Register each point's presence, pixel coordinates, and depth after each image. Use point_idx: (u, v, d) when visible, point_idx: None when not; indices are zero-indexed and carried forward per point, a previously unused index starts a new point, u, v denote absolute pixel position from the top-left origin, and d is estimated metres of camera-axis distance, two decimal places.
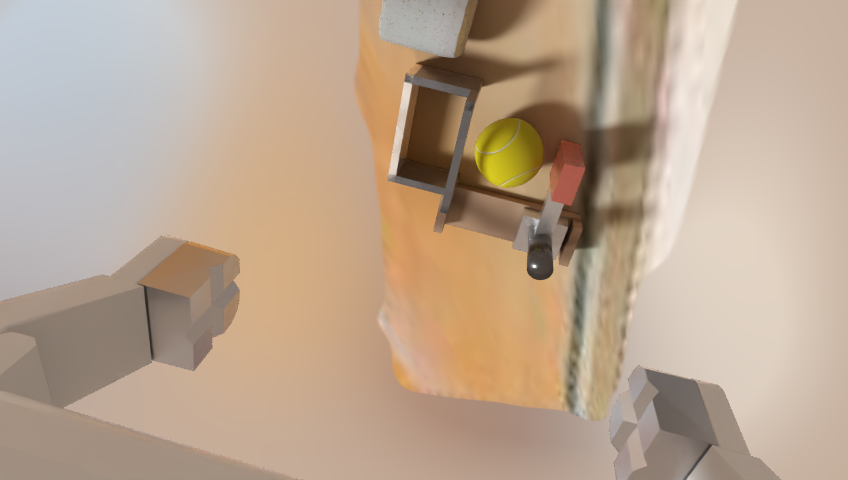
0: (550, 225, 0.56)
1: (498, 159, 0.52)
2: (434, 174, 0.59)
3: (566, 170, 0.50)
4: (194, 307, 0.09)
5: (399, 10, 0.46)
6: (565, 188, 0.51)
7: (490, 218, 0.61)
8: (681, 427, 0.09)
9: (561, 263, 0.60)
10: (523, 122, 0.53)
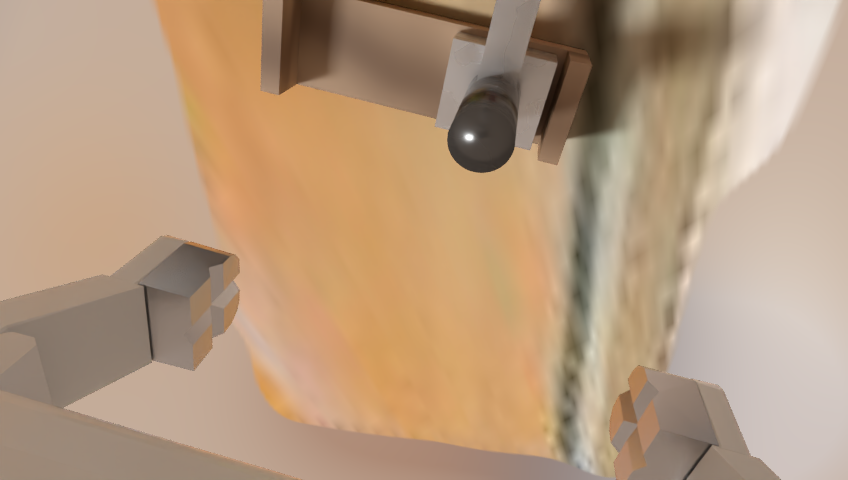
0: (514, 49, 0.23)
1: None
2: None
3: None
4: (194, 307, 0.09)
5: None
6: None
7: (388, 65, 0.28)
8: (681, 427, 0.09)
9: (543, 157, 0.27)
10: None
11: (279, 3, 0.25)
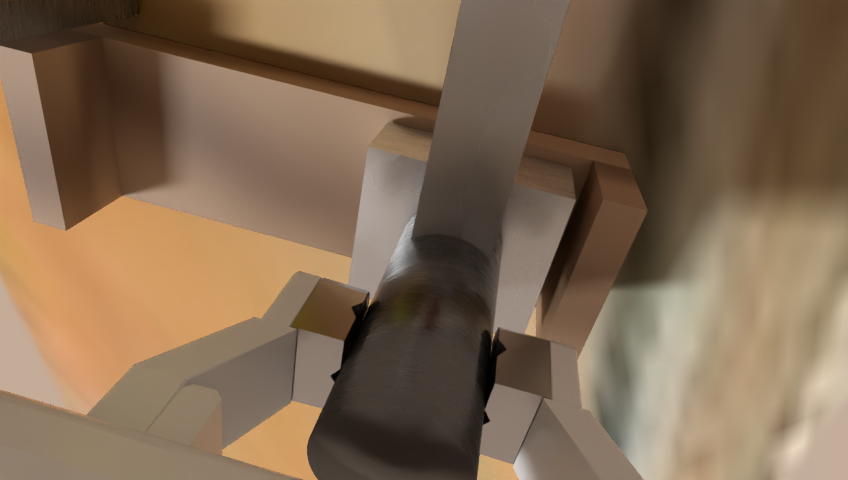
0: (485, 186, 0.11)
1: None
2: None
3: None
4: (344, 349, 0.09)
5: None
6: None
7: (270, 172, 0.16)
8: (518, 381, 0.09)
9: None
10: None
11: (29, 75, 0.13)
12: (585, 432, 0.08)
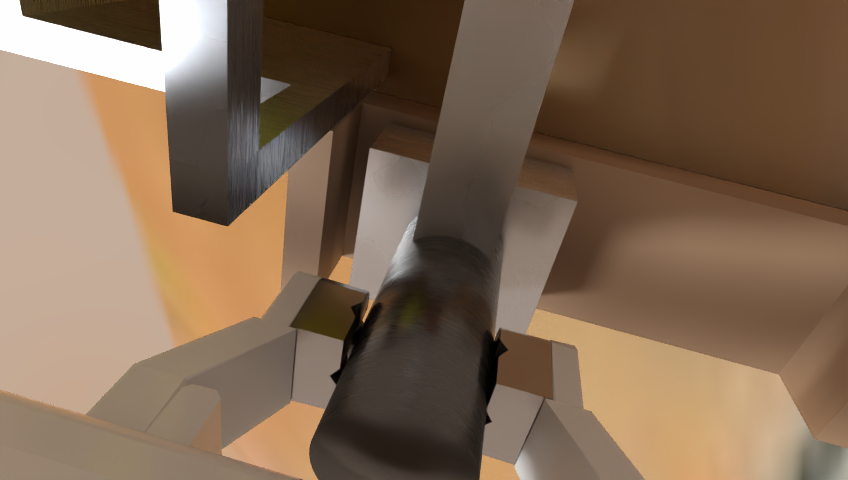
0: (487, 188, 0.11)
1: None
2: (265, 37, 0.13)
3: None
4: (344, 349, 0.09)
5: None
6: None
7: None
8: (519, 382, 0.09)
9: (827, 436, 0.14)
10: None
11: (324, 151, 0.12)
12: (587, 432, 0.08)
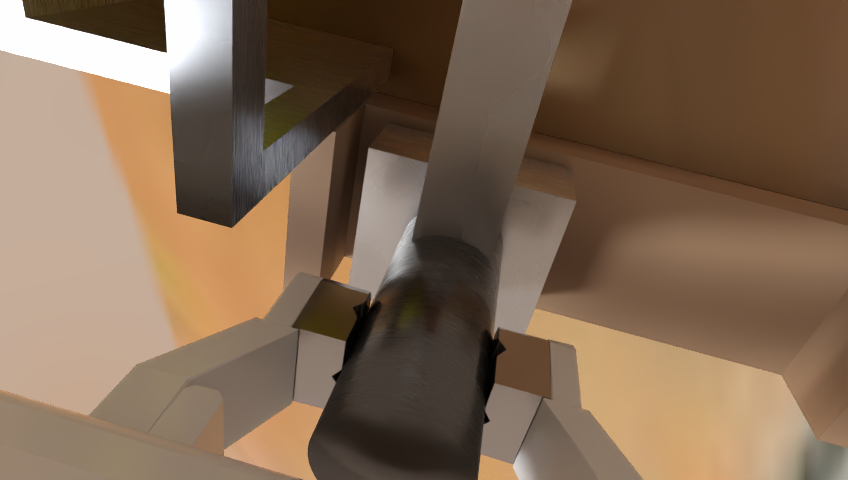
0: (486, 187, 0.11)
1: None
2: (268, 38, 0.13)
3: None
4: (346, 350, 0.09)
5: None
6: None
7: None
8: (517, 381, 0.09)
9: (830, 437, 0.14)
10: None
11: (326, 152, 0.12)
12: (584, 431, 0.08)
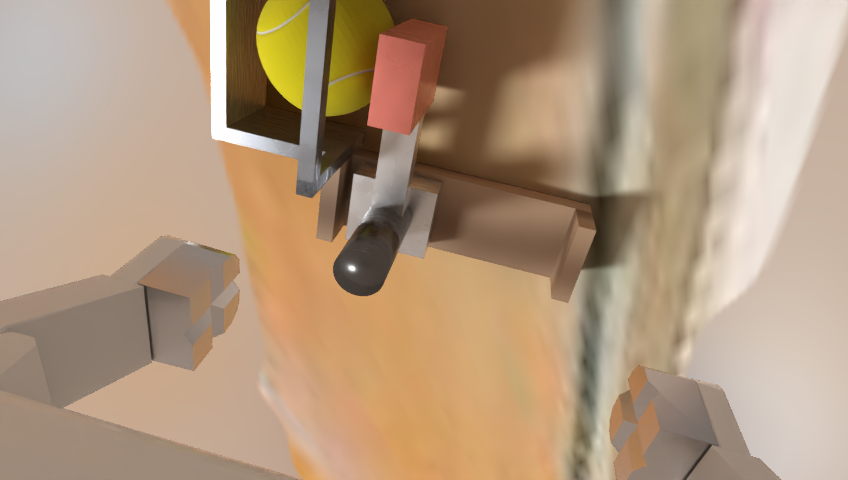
0: (397, 188, 0.29)
1: (285, 42, 0.24)
2: None
3: (386, 49, 0.22)
4: (194, 307, 0.09)
5: None
6: (390, 93, 0.23)
7: None
8: (681, 427, 0.09)
9: (556, 296, 0.32)
10: None
11: (336, 175, 0.30)
12: None
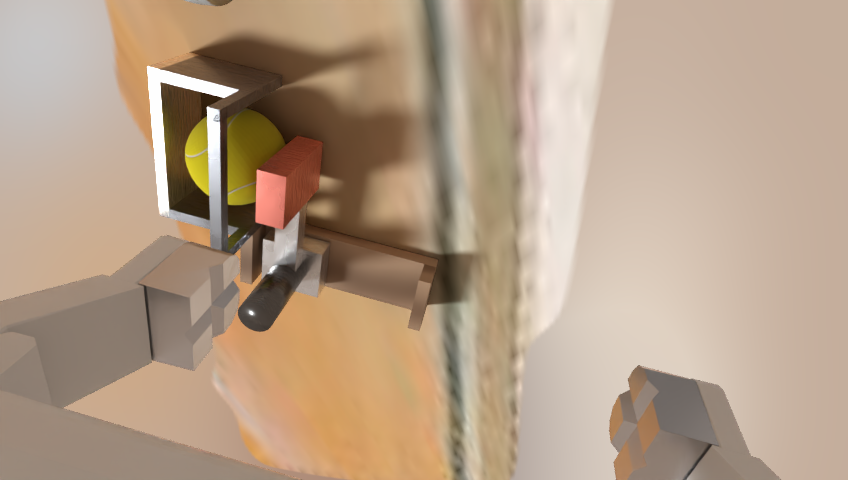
0: (289, 253, 0.41)
1: (200, 165, 0.36)
2: (233, 205, 0.43)
3: (262, 179, 0.34)
4: (194, 307, 0.09)
5: None
6: (268, 204, 0.35)
7: None
8: (681, 427, 0.09)
9: (410, 326, 0.44)
10: (246, 114, 0.37)
11: (250, 240, 0.43)
12: None
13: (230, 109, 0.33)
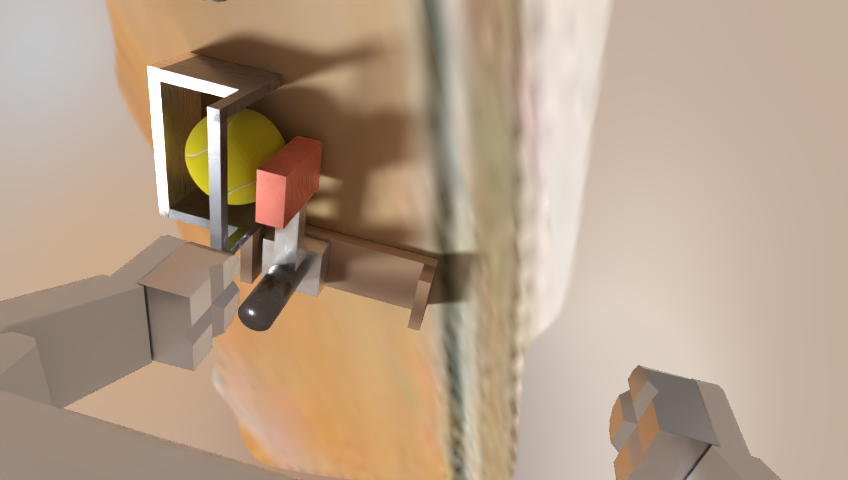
0: (289, 253, 0.41)
1: (200, 165, 0.36)
2: (233, 205, 0.43)
3: (262, 178, 0.34)
4: (194, 307, 0.09)
5: None
6: (268, 204, 0.35)
7: None
8: (681, 427, 0.09)
9: (410, 326, 0.44)
10: (246, 114, 0.37)
11: (250, 240, 0.43)
12: None
13: (230, 109, 0.33)
